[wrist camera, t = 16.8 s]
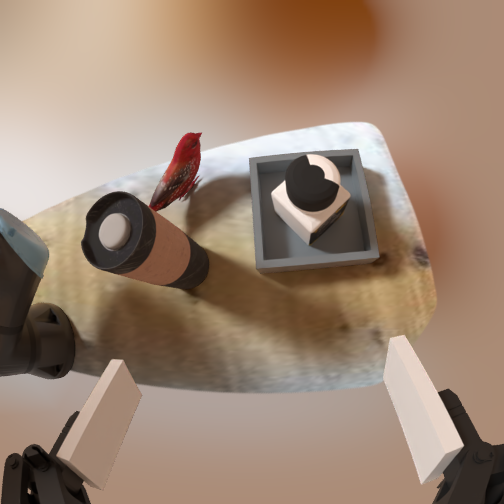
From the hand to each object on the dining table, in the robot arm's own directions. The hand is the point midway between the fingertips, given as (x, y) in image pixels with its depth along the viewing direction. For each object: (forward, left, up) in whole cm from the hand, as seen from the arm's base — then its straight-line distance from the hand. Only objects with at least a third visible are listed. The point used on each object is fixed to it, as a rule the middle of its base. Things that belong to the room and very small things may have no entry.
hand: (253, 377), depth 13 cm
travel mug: (-13, +11, -27) cm, 32 cm away
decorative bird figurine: (-14, +22, -27) cm, 38 cm away
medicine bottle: (+5, +17, -26) cm, 32 cm away
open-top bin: (+6, +17, -27) cm, 32 cm away
